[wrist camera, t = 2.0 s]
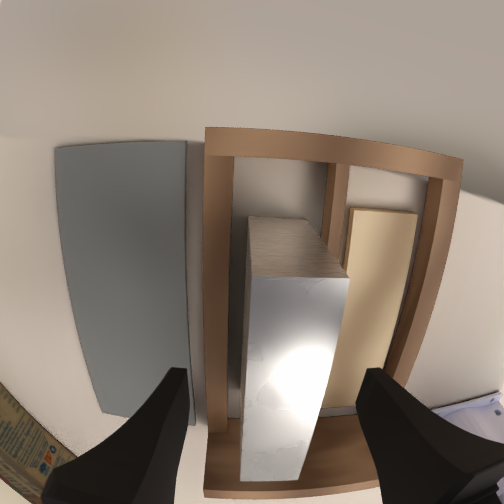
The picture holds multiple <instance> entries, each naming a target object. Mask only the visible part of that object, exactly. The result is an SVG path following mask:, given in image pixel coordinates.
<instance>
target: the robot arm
mask: <svg viewBox="0 0 504 504" xmlns="http://www.w3.org/2000/svg"><path fill="white" fill-rule="evenodd" d="M501 397H502V393H501V392H497V393H494V394H491V395H487V396H484V397H481V398H477V399H474V400H470V401H466V402H462V403H458V404H454V405H450V406H446V407H442V408H437V409H433V410H430V409H429V408H427V407H426V406H425V405H423V404H422V403H421V402H420V401H418V400H417V399H416V398H415V397H413V396H412V395H411V394H410V393H409V392H408V391H406V390H405V389H404V388H403V387H402V386H401V385H400V384H399V383H397V382H396V381H395V380H394V379H393V378H392V377H391V376H390V375H389V374H387V373H386V372H385V371H384V370H383V369H382V368H380V367H376V368H367V369H366V372H365V375H364V379H363V381H362V384H361V387H360V390H359V393H358V396H357V399H356V401H355V404H356V409H357V414H358V418H359V422H360V425H361V428H362V431H363V434H364V436H365V439H366V442H367V445H368V447H369V450H370V453H371V455H372V458H373V461H374V464H375V467H376V470H377V475H378V480H379V484H380V489H381V495H382V501H383V504H504V408H503V406H502V405H501V404H500V402H499V400H500V399H501ZM189 411H190V396H189V385H188V374H187V368H178V367H171V368H170V369H169V370H168V371H167V373H166V375H165V376H164V378H163V379H162V380H161V382H160V383H159V385H158V386H157V387H156V389H155V390H154V391H153V393H152V394H151V395H150V396H149V398H148V399H147V400H146V401H145V402H144V404H143V405H142V406H141V407H140V408H139V409H138V410H137V411H136V412H135V413H134V415H133V416H132V417H131V418H130V419H129V420H128V421H127V422H126V423H125V424H123V425H122V426H121V427H120V428H119V429H118V430H117V431H116V432H114V433H113V434H112V435H110V436H109V437H108V438H107V439H105V440H104V441H103V442H101V443H100V444H99V445H97V446H96V447H94V448H92V449H91V450H89V451H87V452H86V453H84V454H83V455H81V456H79V457H77V458H75V459H73V460H71V461H69V462H67V463H65V464H63V465H61V466H58V467H56V468H54V469H53V470H52V472H51V474H50V475H49V477H48V479H47V481H46V483H45V486H44V488H43V491H42V493H41V496H40V498H41V501H42V503H43V504H174V496H175V485H176V477H177V471H178V466H179V462H180V457H181V453H182V449H183V445H184V440H185V436H186V432H187V427H188V420H189Z"/></svg>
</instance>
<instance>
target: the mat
mask: <svg viewBox="0 0 504 504" xmlns="http://www.w3.org/2000/svg"><path fill="white" fill-rule="evenodd" d="M186 157H187V141H147V142H123V143H106V144H92V145H80V146H70V147H60V148H55V180H56V198H57V210H58V221H59V231H60V239H61V247H62V254H63V261H64V267H65V273H66V279H67V285H68V290H69V295H70V300H71V305H72V310H73V314H74V319H75V323H76V327H77V331H78V335H79V339H80V343H81V347H82V351H83V354H84V358H85V361H86V365H87V368H88V371H89V375H90V378H91V381H92V384H93V387H94V390H95V393H96V396H97V399H98V402H99V405H100V408H101V411H102V413H106V414H111V415H117V416H122V417H128V418H131V417H132V416H133V415H134V413H135V412H136V411H137V410H138V409H139V408H140V407H141V406H142V405H143V404H144V402H145V401H146V400H147V399H148V398H149V396H150V395H151V394H152V393H153V391H154V390H155V389H156V387H157V386H158V385H159V383H160V382H161V380H162V379H163V378H164V376H165V375H166V373H167V371H168V370H169V369H170V368H171V367H178V368H187V374H188V385H189V396H190V411H189V420H188V425H192V426H195V425H196V417H195V406H194V395H193V383H192V370H191V356H190V341H189V323H188V301H187V271H186Z"/></svg>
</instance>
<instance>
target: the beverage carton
mask: <svg viewBox="0 0 504 504" xmlns="http://www.w3.org/2000/svg"><path fill="white" fill-rule="evenodd" d="M75 458H77V457H76V456H75V455H73V454H72V453H71V452H70V451H69V450H67V449H66V448H65V447H64V446H63V445H62V444H60V443H59V442H58V441H57V440H56V439H55V438H54V437H53V436H52V435H51V434H50V433H48V432H47V431H46V430H45V429H44V428H43V427H42V426H41V425H40V424H39V423H38V422H37V421H36V420H35V419H34V418H33V417H32V416H31V415H30V414H29V413H28V412H27V411H26V410H25V409H24V408H23V407H22V406H21V405H20V404H19V403H18V401H17V400H16V399H15V398H14V397H13V396H12V395H11V394H10V393H9V392H8V390H7V389H6V388H5V387H4V386H3V385H2V384H1V382H0V478H1V479H2V480H3V481H4V482H5V483H6V484H8V485H9V486H10V487H11V488H12V489H14V490H15V491H17V492H18V493H19V494H20V495H22V496H23V497H24V498H25V499H26V500H28V501H29V502H31V503H32V504H43V503H42V501H41V498H40V496H41V493H42V491H43V488H44V486H45V483H46V481H47V479H48V477H49V475H50V474H51V472H52V470H53V469H54V468H56V467H58V466H61V465H63V464H65V463H67V462H69V461H71V460H73V459H75Z"/></svg>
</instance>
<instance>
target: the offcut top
mask: <svg viewBox="0 0 504 504" xmlns="http://www.w3.org/2000/svg"><path fill="white" fill-rule="evenodd" d="M417 217H418V214H416V213H414V212H409V211H396V210H381V209H365V208H350V215H349V225H348V234H347V243H346V251H345V259H344V266H343V269H344V271H345V272H346V274H347V275H348V276H349V278H350V281H349V287H348V292H347V297H346V303H345V308H344V313H343V317H342V322H341V327H340V331H339V336H338V340H337V345H336V349H335V353H334V358H333V362H332V366H331V370H330V374H329V378H328V382H327V386H326V389H325V393H324V397H323V400H322V404H321V408H333V407H344V406H354V405H356V404H355V401H356V399H357V396H358V393H359V390H360V387H361V384H362V381H363V379H364V375H365V372H366V369H367V368H376V367H380V368H382V369H383V366H384V363H385V359H386V356H387V353H388V349H389V346H390V343H391V339H392V336H393V332H394V328H395V325H396V321H397V317H398V313H399V309H400V305H401V301H402V297H403V292H404V288H405V283H406V279H407V274H408V269H409V264H410V259H411V253H412V248H413V242H414V236H415V230H416V223H417Z"/></svg>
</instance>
